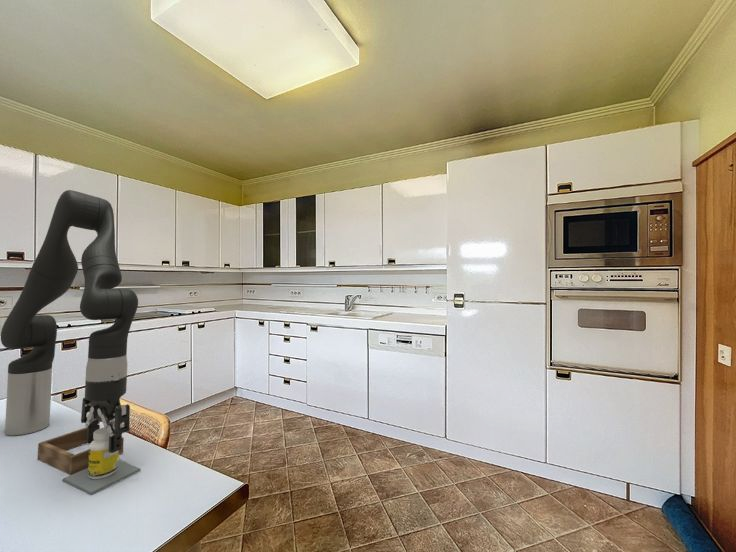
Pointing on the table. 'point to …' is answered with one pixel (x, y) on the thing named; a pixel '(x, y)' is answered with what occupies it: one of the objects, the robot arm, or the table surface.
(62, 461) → the walnut box
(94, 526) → the table surface
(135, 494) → the table surface
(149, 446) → the table surface
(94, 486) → the slate mat
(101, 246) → the robot arm
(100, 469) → the supplement bottle
